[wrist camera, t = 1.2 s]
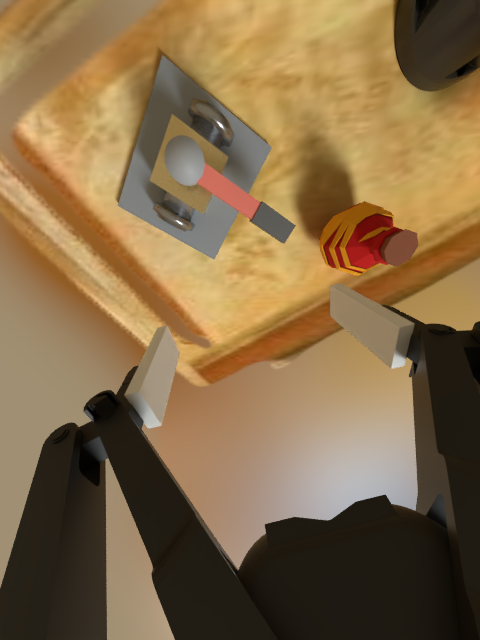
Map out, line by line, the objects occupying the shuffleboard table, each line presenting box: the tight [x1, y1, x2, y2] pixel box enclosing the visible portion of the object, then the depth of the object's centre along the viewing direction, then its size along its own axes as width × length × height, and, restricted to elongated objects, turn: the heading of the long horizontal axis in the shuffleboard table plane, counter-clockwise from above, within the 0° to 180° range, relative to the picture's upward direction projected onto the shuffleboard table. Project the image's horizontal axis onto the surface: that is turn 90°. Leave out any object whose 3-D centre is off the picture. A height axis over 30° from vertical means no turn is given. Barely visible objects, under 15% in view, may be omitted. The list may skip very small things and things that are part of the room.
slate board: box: [118, 55, 272, 259], centre depth 30 cm, size 18×16×1 cm
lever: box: [164, 135, 295, 243], centre depth 23 cm, size 16×4×2 cm, turn 60°
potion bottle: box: [319, 201, 418, 276], centre depth 30 cm, size 10×10×15 cm
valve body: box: [150, 98, 234, 232], centre depth 26 cm, size 14×7×8 cm, turn 150°
